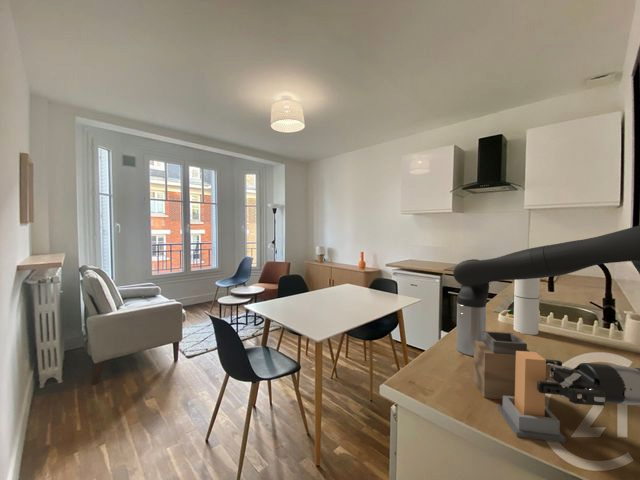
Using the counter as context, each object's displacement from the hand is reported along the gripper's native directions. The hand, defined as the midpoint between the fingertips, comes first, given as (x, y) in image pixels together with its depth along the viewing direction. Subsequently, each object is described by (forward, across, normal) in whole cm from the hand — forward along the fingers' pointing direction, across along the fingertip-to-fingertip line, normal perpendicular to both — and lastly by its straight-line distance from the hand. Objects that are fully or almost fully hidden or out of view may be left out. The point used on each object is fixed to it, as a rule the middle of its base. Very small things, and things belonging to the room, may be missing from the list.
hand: (526, 376), depth 62 cm
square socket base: (-1, -13, +11) cm, 17 cm away
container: (-30, -63, +11) cm, 71 cm away
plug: (-1, 0, +10) cm, 10 cm away
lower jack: (-1, 0, +11) cm, 11 cm away
